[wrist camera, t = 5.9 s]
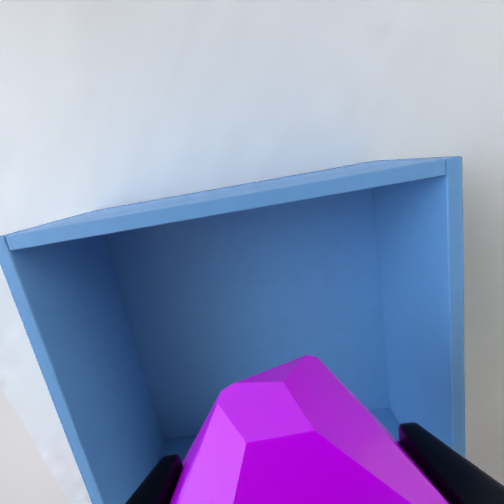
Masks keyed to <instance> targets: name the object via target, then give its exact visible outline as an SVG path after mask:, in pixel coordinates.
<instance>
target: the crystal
mask: <svg viewBox="0 0 504 504" xmlns="http://www.w3.org/2000/svg"><path fill="white" fill-rule="evenodd" d="M182 465H183V468H182V471H181V473H180V476H179V479H178V482H177V484H176V487H175V490H174V492H173V495H172V498H171V500H170V503H169V504H451V503H450V502H449V501H448V500H447V499H446V498H445V496H444V495H443V494H442V493H441V492H440V491H439V489H438V488H437V487H436V486H435V485H434V484H433V482H432V481H431V480H430V479H429V478H428V477H427V475H426V474H425V473H424V472H423V471H422V469H421V468H420V467H419V466H418V465H417V463H416V462H415V461H414V460H413V459H412V457H411V456H410V455H409V454H408V453H407V451H406V450H405V449H404V448H403V447H402V445H401V444H400V443H399V442H398V441H397V439H396V438H395V437H394V436H393V435H392V434H391V433H390V432H389V431H388V430H387V428H386V427H385V426H384V425H383V424H382V423H381V422H380V421H379V420H378V419H377V418H376V417H375V416H374V415H373V414H372V413H371V412H370V411H369V410H368V409H367V407H366V406H365V405H364V404H363V403H362V402H361V401H360V400H359V399H358V398H357V397H356V396H355V395H354V394H353V393H352V392H351V391H350V390H349V389H348V388H347V387H346V386H345V385H344V384H343V383H342V382H341V381H340V380H339V379H338V378H337V377H336V376H335V375H334V374H333V373H332V372H331V371H330V369H329V368H328V367H327V366H326V365H325V364H324V363H323V362H322V361H321V360H320V359H318V358H317V357H315V356H311V355H304V356H302V357H299V358H297V359H294V360H292V361H289V362H287V363H284V364H281V365H279V366H276V367H274V368H271V369H269V370H266V371H263V372H261V373H258V374H256V375H253V376H251V377H248V378H246V379H243V380H240V381H238V382H235V383H233V384H231V385H230V386H228V387H226V388H225V389H223V390H221V392H220V393H219V395H218V397H217V399H216V401H215V403H214V405H213V407H212V408H211V410H210V412H209V414H208V416H207V418H206V420H205V421H204V423H203V425H202V427H201V429H200V431H199V433H198V435H197V436H196V438H195V440H194V442H193V444H192V446H191V448H190V449H189V451H188V453H187V455H186V457H185V459H184V461H183V464H182Z"/></svg>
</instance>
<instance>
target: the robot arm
mask: <svg viewBox="0 0 504 504" xmlns="http://www.w3.org/2000/svg"><path fill="white" fill-rule="evenodd" d="M398 432H399V443H400V444H401V445H402V447H403V448H404V449H405V450H406V451H407V453H408V454H409V455H410V456H411V457H412V459H413V460H414V461H415V462H416V463H417V465H418V466H419V467H420V468H421V469H422V471H423V472H424V473H425V474H426V475H427V477H428V478H429V479H430V480H431V481H432V482H433V484H434V485H435V486H436V487H437V488H438V489H439V491H440V492H441V493H442V494H443V495H444V496H445V498H446V499H447V500H448V501H449V502H450V503H451V504H504V486H503V485H501V484H500V483H498V482H497V481H496V480H494V479H493V478H492V477H490V476H489V475H487V474H486V473H485V472H483V471H482V470H481V469H479V468H478V467H476V466H475V465H474V464H472V463H471V462H470V461H468V460H467V459H465V458H464V457H463V456H461V455H460V454H459V453H457V452H456V451H454V450H453V449H452V448H450V447H449V446H448V445H446V444H445V443H443V442H442V441H441V440H439V439H438V438H437V437H435V436H434V435H433V434H431V433H430V432H428V431H427V430H426V429H424V428H423V427H422V426H420V425H419V424H417V423H415V422H408V423H401V424H399V427H398ZM182 468H183V465H182V462H181V458H180V456H179V455H178V454H172V455H165V456H163V457H162V458H161V459H160V460H159V462H158V463H157V464H156V465H155V467H154V468H153V469H152V470H151V472H150V473H149V474H148V475H147V477H146V478H145V479H144V480H143V482H142V483H141V484H140V485H139V487H138V488H137V489H136V490H135V492H134V493H133V494H132V495H131V497H130V498H129V499H128V500H127V502H126V503H125V504H169V503H170V500H171V498H172V495H173V492H174V490H175V487H176V484H177V482H178V479H179V476H180V473H181V471H182Z"/></svg>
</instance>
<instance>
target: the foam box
mask: <svg viewBox="0 0 504 504" xmlns="http://www.w3.org/2000/svg"><path fill="white" fill-rule="evenodd" d="M0 265H1V268H2V270H3V273H4V275H5V278H6V281H7V283H8V286H9V288H10V291H11V294H12V296H13V299H14V301H15V304H16V307H17V309H18V312H19V314H20V317H21V320H22V322H23V325H24V327H25V330H26V333H27V335H28V338H29V340H30V343H31V346H32V348H33V351H34V353H35V356H36V359H37V361H38V364H39V366H40V369H41V372H42V374H43V377H44V379H45V382H46V385H47V387H48V390H49V392H50V395H51V398H52V400H53V403H54V405H55V408H56V411H57V413H58V416H59V418H60V421H61V424H62V426H63V429H64V431H65V434H66V437H67V439H68V442H69V444H70V447H71V450H72V452H73V455H74V457H75V460H76V463H77V465H78V468H79V470H80V473H81V476H82V478H83V481H84V483H85V486H86V489H87V491H88V494H89V496H90V499H91V502H92V504H125V503H126V502H127V500H128V499H129V498H130V497H131V495H132V494H133V493H134V492H135V490H136V489H137V488H138V487H139V485H140V484H141V483H142V482H143V480H144V479H145V478H146V477H147V475H148V474H149V473H150V472H151V470H152V469H153V468H154V467H155V465H156V464H157V463H158V462H159V460H160V459H161V458H162V457H163V456H165V455H172V454H178V455H179V456H180V458H181V462H182V464H183V461H184V459H185V457H186V455H187V453H188V451H189V449H190V448H191V446H192V444H193V442H194V440H195V438H196V436H197V435H198V433H199V431H200V429H201V427H202V425H203V423H204V421H205V420H206V418H207V416H208V414H209V412H210V410H211V408H212V407H213V405H214V403H215V401H216V399H217V397H218V395H219V393H220V392H221V390H223V389H225V388H226V387H228V386H230V385H231V384H233V383H235V382H238V381H240V380H243V379H246V378H248V377H251V376H253V375H256V374H258V373H261V372H263V371H266V370H269V369H271V368H274V367H276V366H279V365H281V364H284V363H287V362H289V361H292V360H294V359H297V358H299V357H302V356H304V355H311V356H315V357H317V358H318V359H320V360H321V361H322V362H323V363H324V364H325V365H326V366H327V367H328V368H329V369H330V371H331V372H332V373H333V374H334V375H335V376H336V377H337V378H338V379H339V380H340V381H341V382H342V383H343V384H344V385H345V386H346V387H347V388H348V389H349V390H350V391H351V392H352V393H353V394H354V395H355V396H356V397H357V398H358V399H359V400H360V401H361V402H362V403H363V404H364V405H365V406H366V407H367V409H368V410H369V411H370V412H371V413H372V414H373V415H374V416H375V417H376V418H377V419H378V420H379V421H380V422H381V423H382V424H383V425H384V426H385V427H386V428H387V430H388V431H389V432H390V433H391V434H392V435H393V436H394V437H395V438H396V439H397V441H398V442H399V432H398V427H399V424H401V423H408V422H415V423H417V424H419V425H420V426H422V427H423V428H424V429H426V430H427V431H428V432H430V433H431V434H433V435H434V436H435V437H437V438H438V439H439V440H441V441H442V442H443V443H445V444H446V445H448V446H449V447H450V448H452V449H453V450H454V451H456V452H457V453H459V454H460V455H461V456H463V457H464V458H465V389H464V292H463V196H462V157H461V156H453V157H435V158H417V159H399V160H381V161H372V162H366V163H361V164H355V165H349V166H344V167H338V168H332V169H327V170H321V171H315V172H310V173H304V174H299V175H293V176H287V177H282V178H276V179H270V180H265V181H259V182H253V183H248V184H242V185H236V186H231V187H225V188H219V189H214V190H208V191H203V192H197V193H191V194H186V195H180V196H174V197H169V198H163V199H157V200H152V201H146V202H140V203H135V204H129V205H123V206H118V207H112V208H107V209H101V210H95V211H91V212H87V213H84V214H80V215H76V216H73V217H69V218H65V219H62V220H58V221H54V222H51V223H47V224H43V225H39V226H36V227H32V228H28V229H25V230H21V231H17V232H14V233H10V234H6V235H3V236H0Z"/></svg>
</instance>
